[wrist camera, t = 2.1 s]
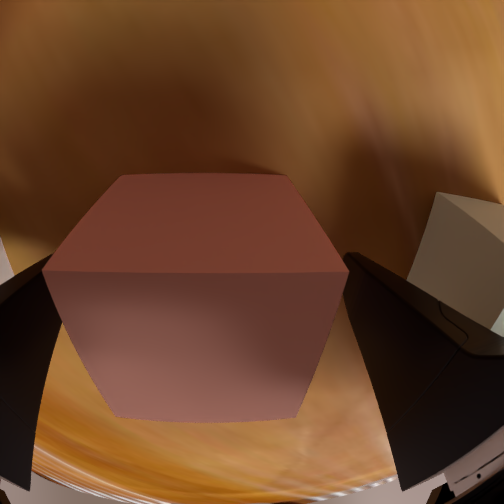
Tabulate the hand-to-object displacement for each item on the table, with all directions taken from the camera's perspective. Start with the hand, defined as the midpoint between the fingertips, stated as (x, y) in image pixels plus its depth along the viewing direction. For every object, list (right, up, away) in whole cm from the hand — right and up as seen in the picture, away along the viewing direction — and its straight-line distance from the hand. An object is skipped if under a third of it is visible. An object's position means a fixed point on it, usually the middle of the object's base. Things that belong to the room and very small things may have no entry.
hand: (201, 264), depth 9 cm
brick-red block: (0, +1, +1) cm, 1 cm away
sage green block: (+11, +1, +2) cm, 11 cm away
